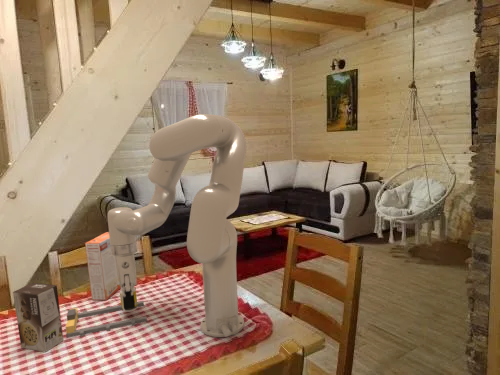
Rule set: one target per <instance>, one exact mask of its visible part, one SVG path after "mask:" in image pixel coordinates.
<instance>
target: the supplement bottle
mask: <svg viewBox="0 0 500 375" xmlns="http://www.w3.org/2000/svg"><path fill="white" fill-rule="evenodd" d="M130 285H131V282H130ZM124 286H125V284H124ZM130 289H131V288H130ZM132 289H133V294H134V302H135V307H134V308H129V309H124V304H123V296H124V295H123V287H122V288H120V289H119V299H120V305H121V309H122V310H121V311H122V312H124V313H131V312H134V311H136V310H137V308H138V307H137V302H138V299H137V297H138V296H137V290H136V288H135V285H132ZM125 290H126V288H125Z"/></svg>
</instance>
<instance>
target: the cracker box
mask: <svg viewBox="0 0 500 375" xmlns="http://www.w3.org/2000/svg"><path fill="white" fill-rule="evenodd" d="M84 245H85V255H86V261H87V269H88V271H87V272H88V279H89V287H90V292H91V293H90V294H91V300H92V301H108V300H109V299H110V298H111V297H112V296H113V295H114V294H116V292H118V291H120V290H121V287H120V283H119V278H118V272H117V264H116V256H112V255H111V247H110V237H109V231H107V232H104V233H101V234H100V235H98V236H96V237H95V238H92V239H90V240H89V241H86V242H85V243H84Z"/></svg>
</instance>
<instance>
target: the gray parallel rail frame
mask: <svg viewBox="0 0 500 375" xmlns="http://www.w3.org/2000/svg"><path fill="white" fill-rule="evenodd" d="M144 302H145V301H144V300H141V301H137V308H138V307H143V306H145V303H144ZM117 311H122V309H121V304H119V305H114V306H111V305H109V306H108V305H107V306H106V307H104V308H99V309H92V310H86V309H85V310H83V311H82V312H78V319H80V318H86V317H92V316H97V315H101V314H102V315H103V314H107V313H114V312H117ZM141 322H142V323H145V322H148V317H147V315H146V316H141V317H140V316H139V317H136V318H130V319H126V320H125V319H124V320H121V321H115V322H110V323H105V324H100V325H95V326H90V327H85V328H80V329H76V330H75V331H74V332H72V333H66V335H65V336H66V339H68V338H72V337H77V336H79V337H84V336H85V335H88V334H92V333H96V332H101V331H106V332H109V331H111V330H112V329H116V328H117V329H118V328H121V327H122V328H123V327H125V326H132V327H134V326H136V323H137V324H140V323H141Z"/></svg>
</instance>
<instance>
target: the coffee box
mask: <svg viewBox="0 0 500 375" xmlns="http://www.w3.org/2000/svg"><path fill="white" fill-rule="evenodd" d="M58 292H59V291H58V285H56V284H48V283H47V284H46V283H38V282H31V283H29V284H27V285H25V286H23V287H20V288H18V289H17V290H14V291H13V292H12V294H13V295H12V296H13V302H14V309H15V315H16V324H17V328H18V334H19V342H20V343H19V344H20V348H22V349H28V350H32V351H37V352H38V351H39V352H43V353H44V352H45V353H46V352H48V351H49V350H51V349H53V348H54V347H55V346H57V345H59V344H60V343H61V342H63V341H64V335H63V334H64V333H63V327H62V326H63V325H62V318H61V310H60V303H59V302H60V300H59V293H58Z"/></svg>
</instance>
